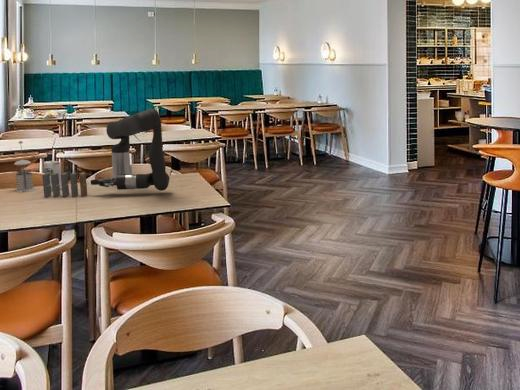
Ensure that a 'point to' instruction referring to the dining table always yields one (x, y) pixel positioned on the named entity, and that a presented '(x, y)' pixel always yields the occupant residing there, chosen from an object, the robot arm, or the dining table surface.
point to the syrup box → (52, 170)
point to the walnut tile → (83, 184)
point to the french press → (24, 176)
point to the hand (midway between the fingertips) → (91, 182)
